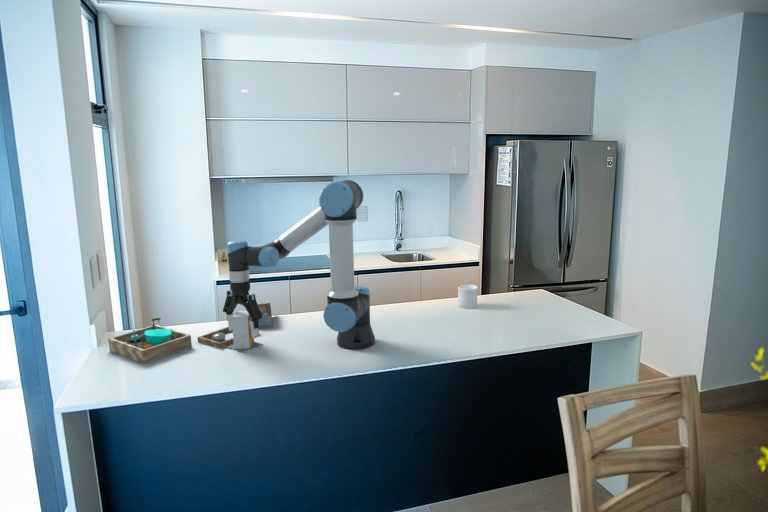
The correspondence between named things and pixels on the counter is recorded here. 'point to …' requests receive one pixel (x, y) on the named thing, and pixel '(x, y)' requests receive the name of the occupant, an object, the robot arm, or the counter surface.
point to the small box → (242, 330)
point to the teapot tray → (153, 353)
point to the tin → (218, 337)
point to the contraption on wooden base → (151, 337)
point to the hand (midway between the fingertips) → (243, 332)
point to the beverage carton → (265, 316)
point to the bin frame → (206, 340)
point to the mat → (254, 345)
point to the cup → (467, 296)
